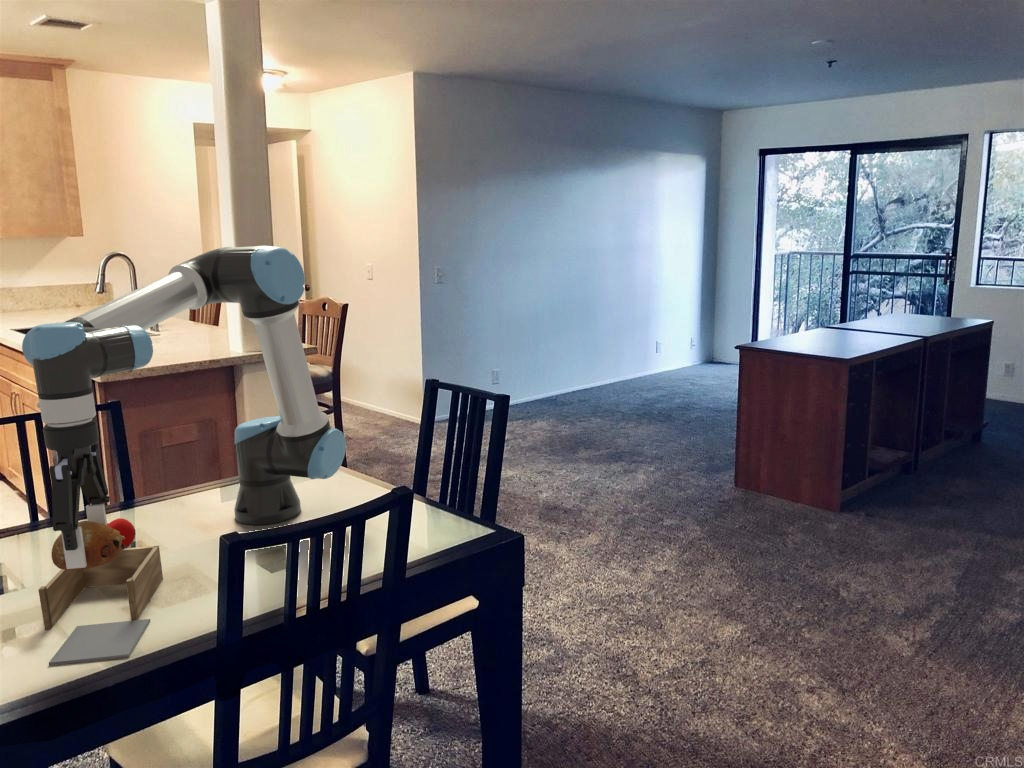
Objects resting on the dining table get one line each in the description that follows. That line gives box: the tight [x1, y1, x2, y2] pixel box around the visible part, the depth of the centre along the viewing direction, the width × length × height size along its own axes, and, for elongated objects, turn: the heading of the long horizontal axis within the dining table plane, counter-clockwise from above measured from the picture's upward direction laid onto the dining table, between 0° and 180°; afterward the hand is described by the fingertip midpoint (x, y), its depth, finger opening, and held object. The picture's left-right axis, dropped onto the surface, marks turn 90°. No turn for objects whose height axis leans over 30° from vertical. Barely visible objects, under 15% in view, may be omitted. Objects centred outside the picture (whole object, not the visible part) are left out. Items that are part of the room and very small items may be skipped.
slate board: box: [48, 618, 151, 666], centre depth 134 cm, size 12×12×1 cm
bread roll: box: [51, 520, 126, 570], centre depth 130 cm, size 10×10×8 cm
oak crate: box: [38, 545, 164, 631], centre depth 147 cm, size 15×17×8 cm
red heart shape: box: [107, 517, 136, 548], centre depth 163 cm, size 9×7×10 cm
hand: (89, 554), depth 131 cm, fingers closed on bread roll, 10 cm apart
